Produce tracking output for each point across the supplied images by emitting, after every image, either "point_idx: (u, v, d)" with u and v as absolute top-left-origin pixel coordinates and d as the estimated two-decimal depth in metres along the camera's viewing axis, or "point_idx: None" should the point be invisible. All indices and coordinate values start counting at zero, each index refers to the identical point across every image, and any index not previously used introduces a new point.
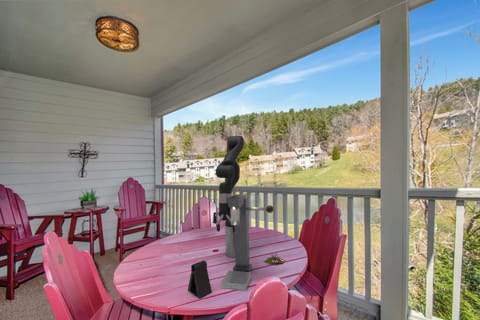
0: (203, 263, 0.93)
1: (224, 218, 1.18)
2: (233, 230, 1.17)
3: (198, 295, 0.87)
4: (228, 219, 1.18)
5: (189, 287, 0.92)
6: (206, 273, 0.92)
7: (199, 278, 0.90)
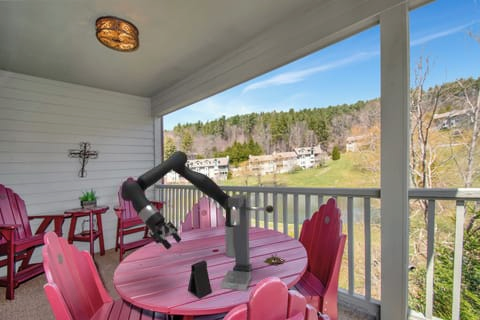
0: (203, 263, 0.93)
1: (165, 230, 0.96)
2: None
3: (198, 295, 0.87)
4: (168, 230, 0.98)
5: (189, 287, 0.92)
6: (206, 273, 0.92)
7: (199, 278, 0.90)
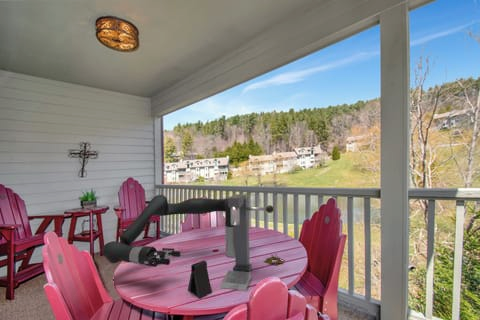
0: (203, 263, 0.93)
1: (159, 254, 0.97)
2: (178, 251, 1.00)
3: (198, 295, 0.87)
4: (163, 252, 0.99)
5: (189, 287, 0.92)
6: (206, 273, 0.92)
7: (199, 278, 0.90)
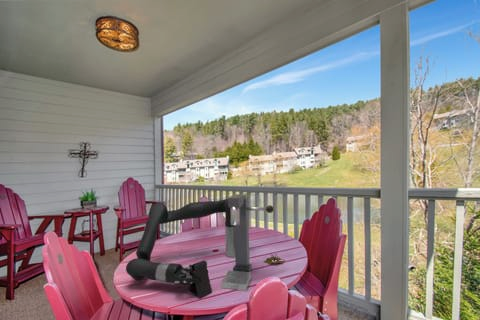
0: (203, 263, 0.93)
1: (187, 272, 0.93)
2: None
3: (198, 295, 0.87)
4: (190, 270, 0.95)
5: (189, 287, 0.92)
6: (206, 273, 0.92)
7: None
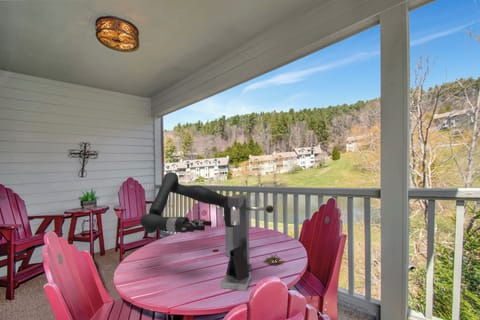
0: (240, 249, 1.01)
1: (193, 223, 1.07)
2: (209, 221, 1.10)
3: (238, 277, 0.96)
4: (196, 222, 1.09)
5: (228, 271, 1.00)
6: (243, 258, 1.01)
7: (238, 262, 0.98)
